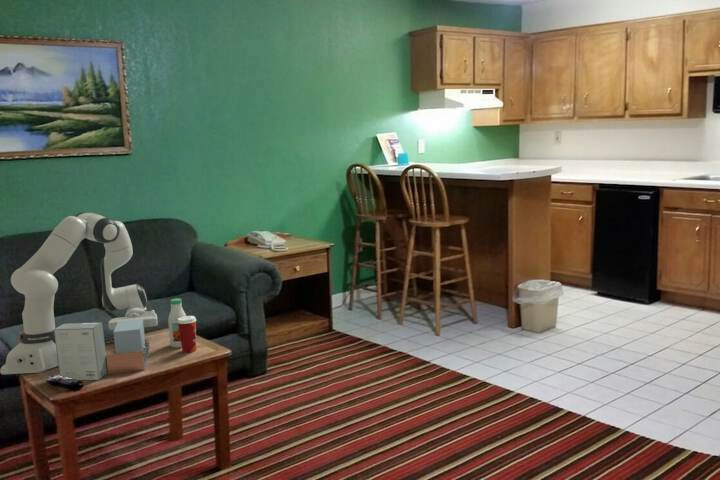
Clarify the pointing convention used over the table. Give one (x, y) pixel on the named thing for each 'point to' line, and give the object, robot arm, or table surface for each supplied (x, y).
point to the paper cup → (187, 333)
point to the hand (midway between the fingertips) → (131, 327)
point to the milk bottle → (175, 322)
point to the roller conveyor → (127, 361)
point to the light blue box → (129, 336)
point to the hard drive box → (81, 351)
